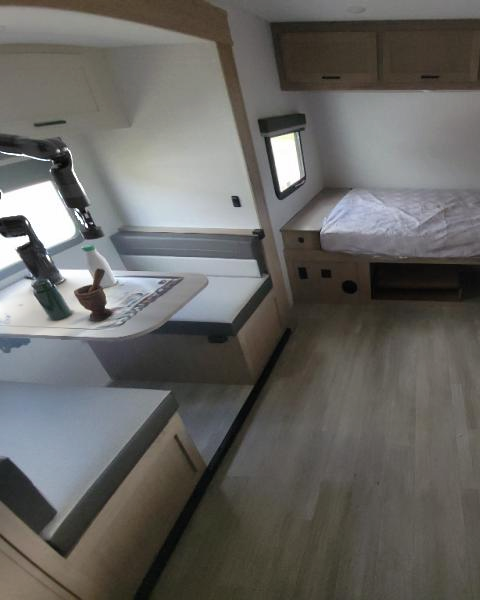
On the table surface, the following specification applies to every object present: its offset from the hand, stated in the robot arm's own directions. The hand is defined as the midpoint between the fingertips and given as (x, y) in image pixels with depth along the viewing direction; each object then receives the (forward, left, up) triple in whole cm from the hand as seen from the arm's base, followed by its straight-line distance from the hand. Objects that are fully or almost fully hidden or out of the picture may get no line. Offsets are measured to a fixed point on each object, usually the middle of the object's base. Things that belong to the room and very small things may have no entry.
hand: (93, 234), depth 138 cm
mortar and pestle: (+8, -15, -30) cm, 34 cm away
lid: (0, 0, -1) cm, 1 cm away
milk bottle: (-16, +6, -30) cm, 34 cm away
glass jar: (-9, -20, -30) cm, 37 cm away
